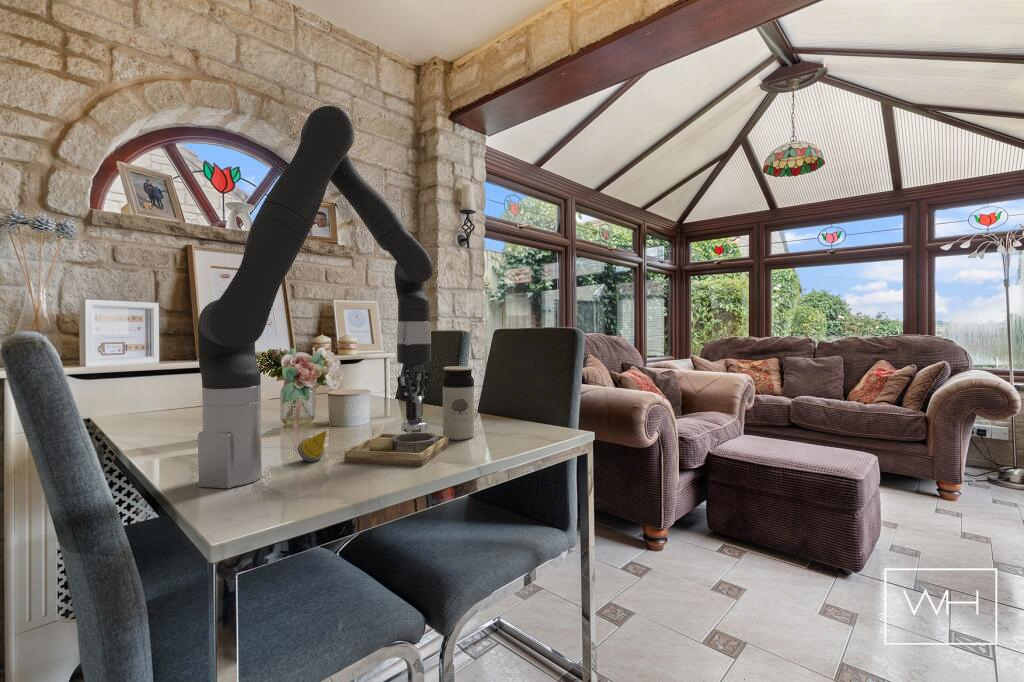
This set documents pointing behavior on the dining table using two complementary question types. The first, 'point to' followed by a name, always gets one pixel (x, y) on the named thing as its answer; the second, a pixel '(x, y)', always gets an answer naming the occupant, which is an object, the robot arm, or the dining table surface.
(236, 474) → the robot arm
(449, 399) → the travel mug
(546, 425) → the dining table surface
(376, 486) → the dining table surface
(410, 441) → the carrier
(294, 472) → the dining table surface
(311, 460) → the yellow grey teardrop
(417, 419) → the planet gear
